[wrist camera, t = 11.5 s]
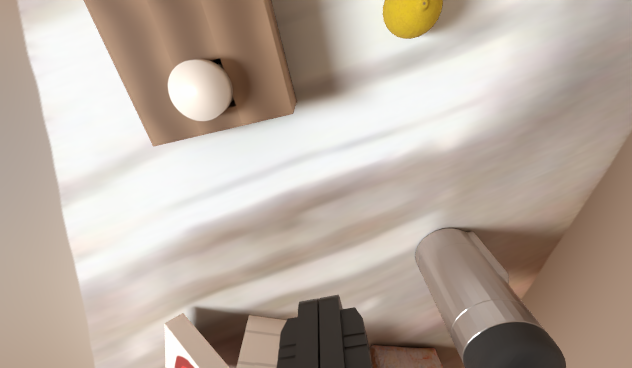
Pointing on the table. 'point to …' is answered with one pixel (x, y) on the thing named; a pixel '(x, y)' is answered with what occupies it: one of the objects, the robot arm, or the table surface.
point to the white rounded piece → (200, 89)
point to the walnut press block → (196, 43)
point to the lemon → (411, 16)
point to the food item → (404, 357)
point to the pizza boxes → (204, 362)
